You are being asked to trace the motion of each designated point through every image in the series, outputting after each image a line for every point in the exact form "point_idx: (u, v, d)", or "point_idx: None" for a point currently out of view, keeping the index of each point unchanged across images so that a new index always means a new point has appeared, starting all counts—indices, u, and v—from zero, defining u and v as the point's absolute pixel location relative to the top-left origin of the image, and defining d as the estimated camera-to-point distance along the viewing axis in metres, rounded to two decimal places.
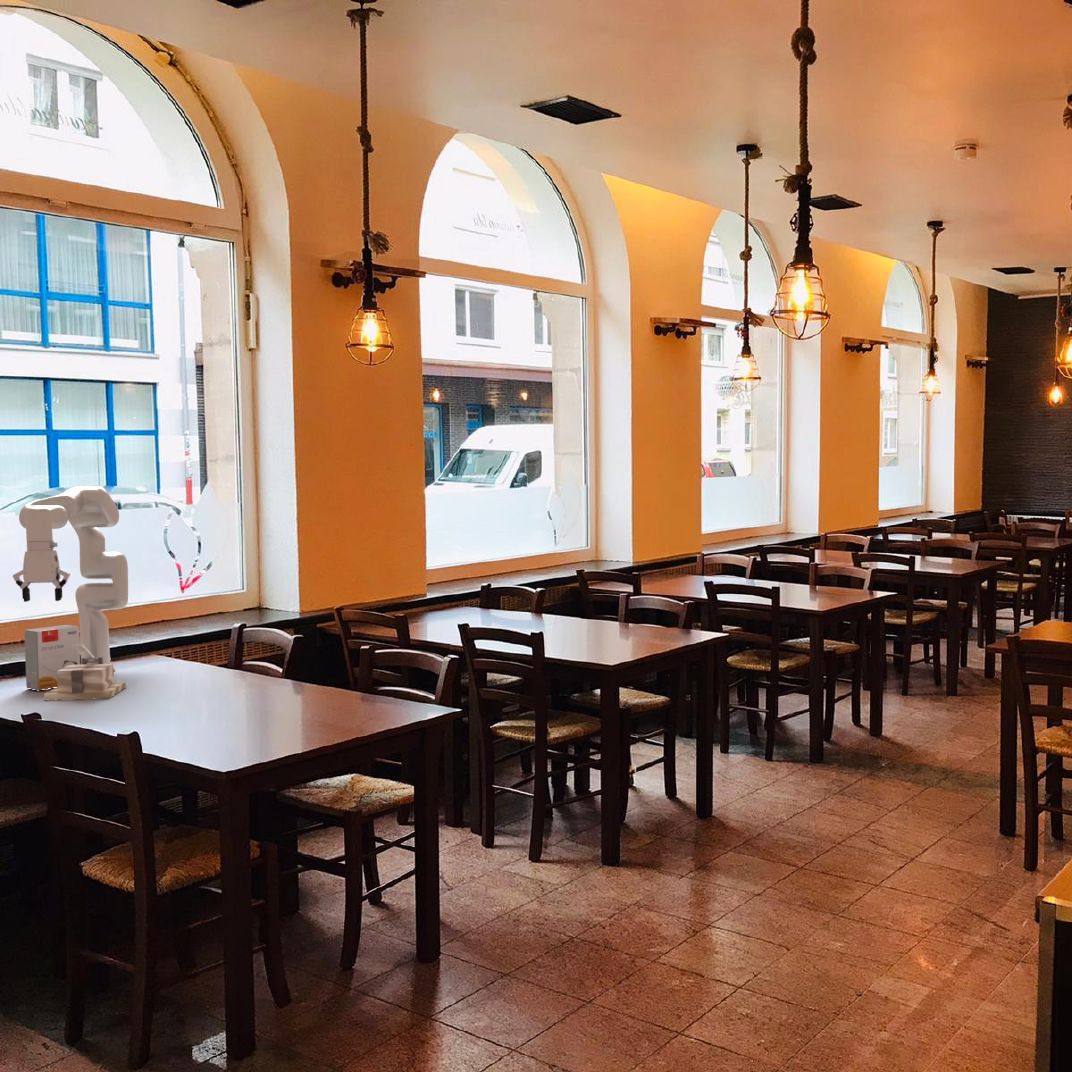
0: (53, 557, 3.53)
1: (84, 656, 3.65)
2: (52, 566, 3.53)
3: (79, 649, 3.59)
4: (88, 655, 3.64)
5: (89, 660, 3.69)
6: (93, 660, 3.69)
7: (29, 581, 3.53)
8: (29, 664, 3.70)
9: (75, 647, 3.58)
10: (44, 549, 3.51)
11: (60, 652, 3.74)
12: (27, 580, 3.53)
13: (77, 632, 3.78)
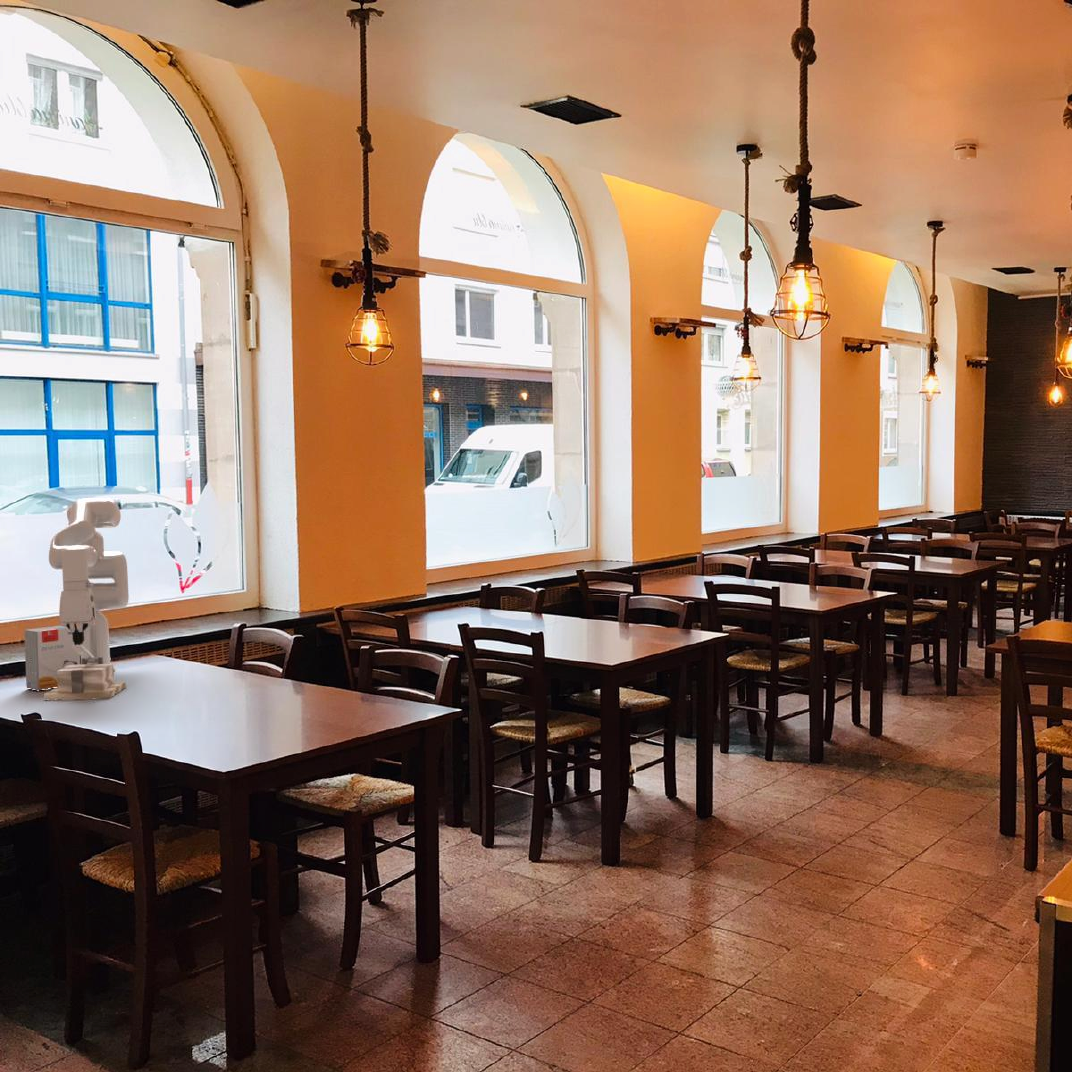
0: (89, 597, 3.56)
1: (84, 656, 3.65)
2: (88, 606, 3.55)
3: (79, 650, 3.59)
4: (88, 655, 3.64)
5: (89, 660, 3.69)
6: (93, 660, 3.69)
7: (65, 621, 3.55)
8: (29, 664, 3.70)
9: (75, 648, 3.58)
10: (80, 589, 3.54)
11: (60, 652, 3.74)
12: (63, 620, 3.55)
13: None
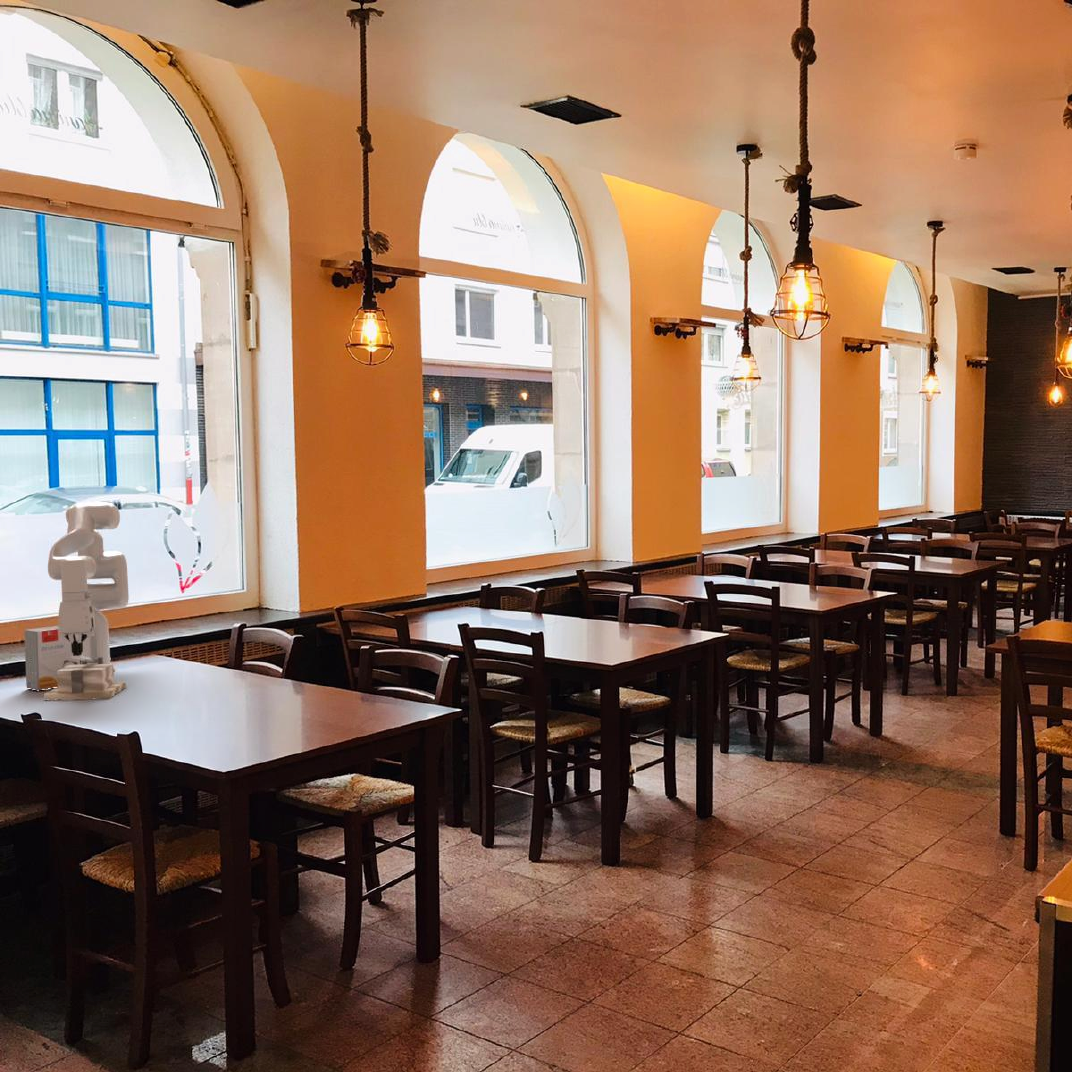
0: (88, 608, 3.55)
1: (84, 660, 3.65)
2: (87, 617, 3.54)
3: None
4: (88, 660, 3.64)
5: (89, 661, 3.69)
6: (93, 661, 3.69)
7: (64, 632, 3.54)
8: (29, 664, 3.70)
9: (74, 658, 3.57)
10: (79, 600, 3.53)
11: (60, 652, 3.74)
12: (62, 631, 3.54)
13: None
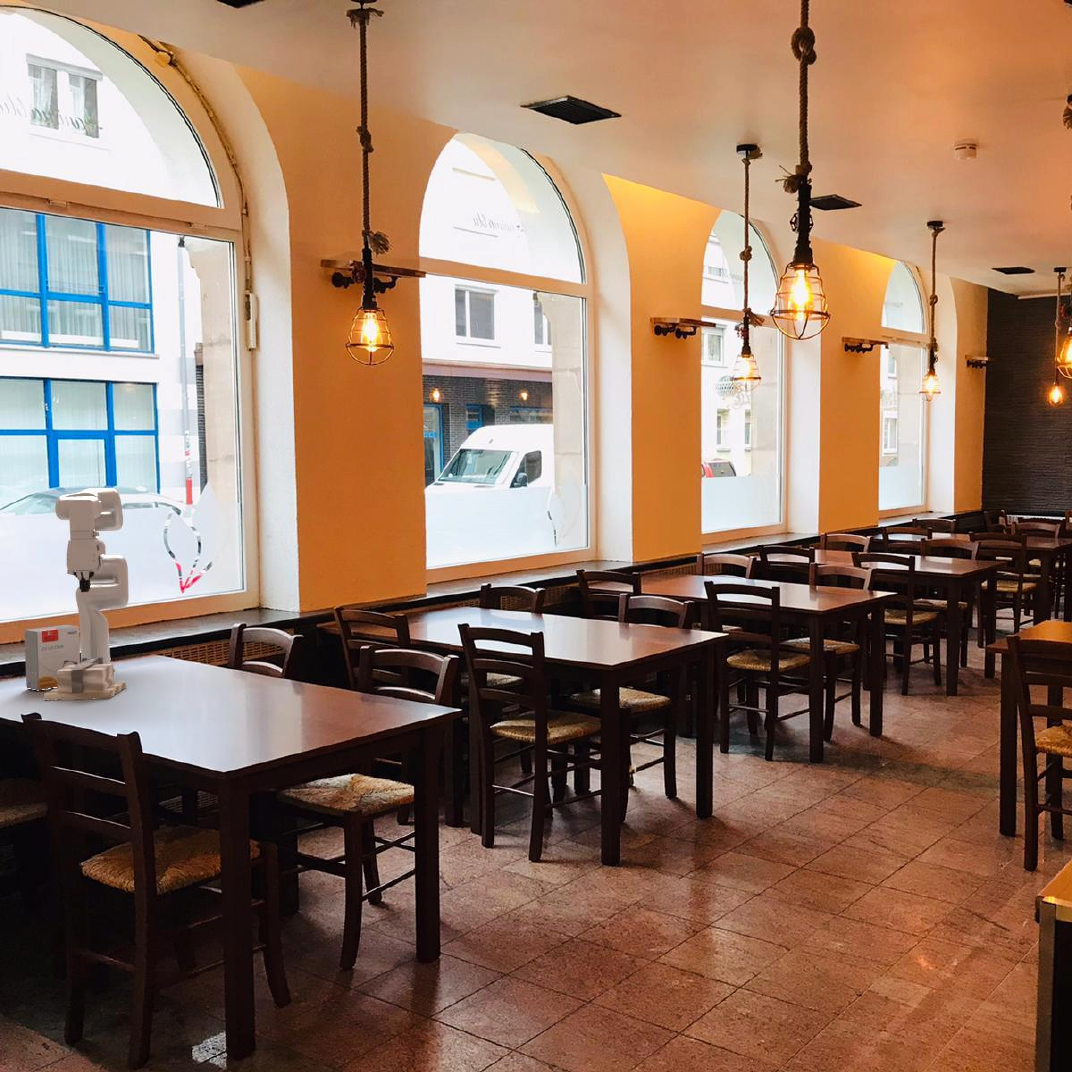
0: (95, 546, 3.68)
1: None
2: (94, 555, 3.68)
3: None
4: None
5: None
6: (93, 662, 3.69)
7: (72, 569, 3.68)
8: (29, 664, 3.70)
9: None
10: (87, 538, 3.67)
11: (60, 652, 3.74)
12: (70, 568, 3.68)
13: (77, 632, 3.78)
